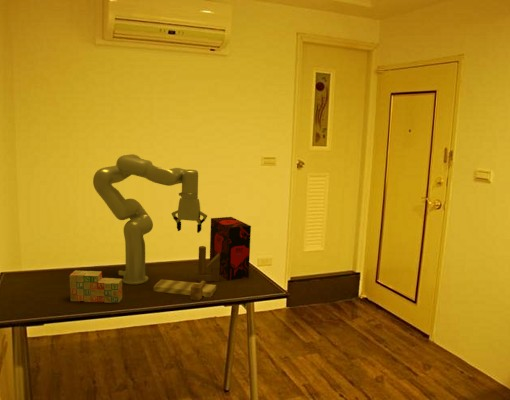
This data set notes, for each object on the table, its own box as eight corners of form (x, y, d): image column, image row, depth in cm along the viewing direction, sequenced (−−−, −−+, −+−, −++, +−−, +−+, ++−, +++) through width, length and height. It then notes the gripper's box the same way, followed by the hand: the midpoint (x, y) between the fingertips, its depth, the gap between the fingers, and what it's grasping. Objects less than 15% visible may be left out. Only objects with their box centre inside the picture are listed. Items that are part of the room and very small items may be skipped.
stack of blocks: (122, 298, 201) (122, 272, 199) (118, 303, 195) (118, 277, 193) (75, 295, 202) (75, 269, 199) (69, 301, 195) (69, 274, 193)
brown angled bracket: (219, 281, 227) (220, 247, 224) (198, 282, 225) (198, 248, 222) (218, 279, 231) (219, 245, 228) (197, 279, 228) (198, 245, 225)
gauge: (190, 299, 203) (190, 287, 202) (199, 288, 217) (199, 276, 216) (199, 300, 202) (200, 288, 201) (208, 289, 216) (208, 277, 215)
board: (153, 291, 211) (153, 286, 210) (161, 283, 220) (161, 279, 220) (210, 297, 206) (211, 292, 206) (216, 289, 216) (216, 285, 216)
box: (209, 267, 249) (210, 218, 244) (229, 264, 255) (231, 216, 250) (227, 280, 229) (229, 227, 224) (248, 277, 235) (250, 225, 230)
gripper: (169, 195, 207) (168, 231, 210) (205, 198, 204) (204, 234, 207) (174, 193, 214) (174, 228, 217) (209, 196, 212) (208, 230, 215)
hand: (189, 231), depth 212 cm, fingers open, 9 cm apart
